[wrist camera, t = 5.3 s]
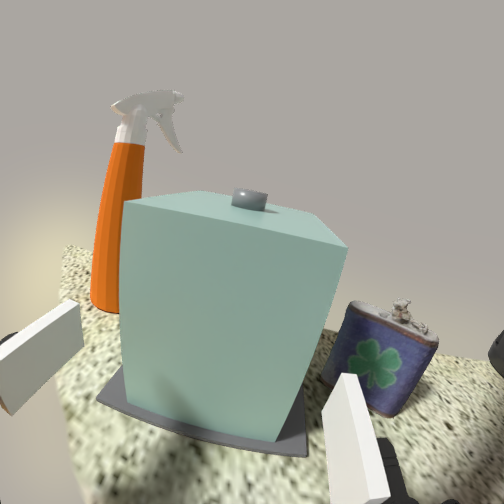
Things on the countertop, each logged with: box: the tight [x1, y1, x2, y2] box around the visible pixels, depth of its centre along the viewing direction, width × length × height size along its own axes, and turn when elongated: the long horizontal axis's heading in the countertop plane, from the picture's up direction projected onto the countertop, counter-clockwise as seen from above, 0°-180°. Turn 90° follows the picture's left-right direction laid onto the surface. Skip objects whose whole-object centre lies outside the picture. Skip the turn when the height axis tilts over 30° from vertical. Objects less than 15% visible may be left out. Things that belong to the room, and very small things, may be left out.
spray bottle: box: [90, 90, 184, 313], centre depth 29 cm, size 7×11×26 cm, turn 139°
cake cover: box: [119, 188, 348, 442], centre depth 21 cm, size 11×14×16 cm
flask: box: [320, 298, 439, 418], centre depth 21 cm, size 9×3×11 cm, turn 47°
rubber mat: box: [96, 364, 307, 458], centre depth 23 cm, size 16×16×1 cm
